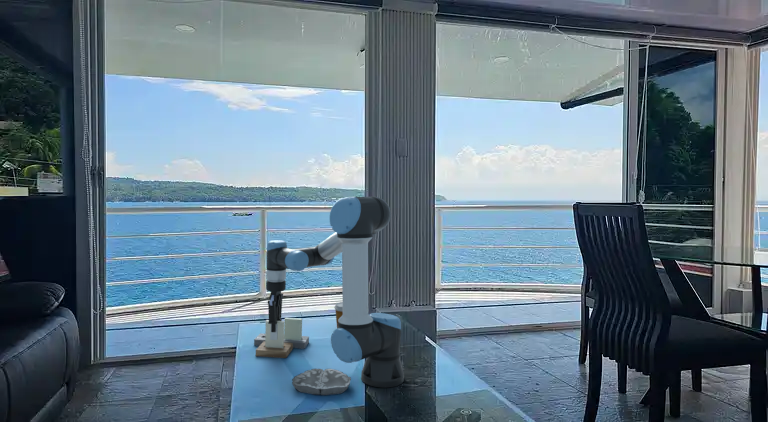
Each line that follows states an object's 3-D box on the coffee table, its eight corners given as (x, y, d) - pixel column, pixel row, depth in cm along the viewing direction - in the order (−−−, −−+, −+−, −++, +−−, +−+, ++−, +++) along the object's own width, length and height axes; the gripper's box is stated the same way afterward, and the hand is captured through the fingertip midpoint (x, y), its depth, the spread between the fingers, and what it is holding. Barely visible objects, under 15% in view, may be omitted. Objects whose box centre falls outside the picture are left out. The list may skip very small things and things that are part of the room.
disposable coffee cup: (353, 334, 233) (354, 307, 232) (332, 333, 234) (333, 306, 233) (355, 327, 243) (356, 302, 242) (334, 326, 243) (335, 301, 242)
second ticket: (300, 345, 216) (301, 319, 215) (284, 344, 216) (284, 318, 215) (301, 344, 217) (302, 318, 216) (285, 343, 218) (285, 317, 217)
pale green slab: (282, 349, 206) (283, 322, 205) (265, 348, 206) (265, 321, 205) (283, 348, 207) (284, 321, 206) (266, 347, 208) (266, 320, 207)
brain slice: (351, 377, 186) (351, 369, 186) (349, 398, 169) (350, 389, 169) (296, 375, 186) (296, 367, 185) (288, 396, 169) (289, 387, 168)
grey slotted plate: (304, 348, 212) (304, 342, 212) (254, 345, 214) (254, 339, 214) (308, 342, 220) (309, 336, 220) (260, 339, 222) (260, 333, 222)
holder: (286, 358, 201) (286, 351, 201) (255, 356, 202) (255, 349, 202) (292, 349, 211) (292, 343, 211) (263, 347, 212) (263, 341, 212)
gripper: (272, 275, 212) (270, 332, 214) (260, 283, 197) (259, 344, 199) (290, 276, 211) (288, 333, 213) (280, 284, 197) (278, 345, 199)
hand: (274, 338), depth 206 cm, fingers closed on pale green slab, 2 cm apart
